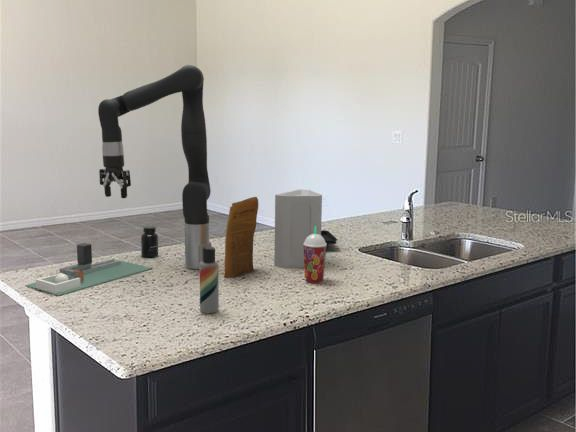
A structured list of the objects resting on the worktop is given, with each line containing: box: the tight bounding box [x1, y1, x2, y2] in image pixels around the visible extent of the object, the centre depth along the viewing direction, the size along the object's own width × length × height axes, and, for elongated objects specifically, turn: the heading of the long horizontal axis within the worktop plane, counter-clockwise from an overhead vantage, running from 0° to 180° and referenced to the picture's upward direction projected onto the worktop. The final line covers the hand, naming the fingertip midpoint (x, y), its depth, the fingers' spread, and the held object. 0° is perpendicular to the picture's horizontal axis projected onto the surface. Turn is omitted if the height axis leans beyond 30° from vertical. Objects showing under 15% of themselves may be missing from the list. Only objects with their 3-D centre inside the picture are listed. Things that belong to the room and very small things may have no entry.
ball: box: [55, 274, 69, 284], centre depth 210 cm, size 4×4×4 cm
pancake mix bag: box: [223, 196, 259, 278], centre depth 229 cm, size 7×19×28 cm, turn 144°
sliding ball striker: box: [59, 242, 93, 282], centre depth 221 cm, size 12×12×10 cm
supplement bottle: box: [140, 225, 159, 259], centre depth 253 cm, size 7×7×12 cm
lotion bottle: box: [199, 246, 220, 314], centre depth 189 cm, size 6×6×20 cm
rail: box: [49, 258, 122, 279], centre depth 228 cm, size 4×28×2 cm, turn 146°
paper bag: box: [273, 189, 323, 269], centre depth 243 cm, size 19×15×28 cm
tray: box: [321, 230, 339, 247], centre depth 276 cm, size 30×23×5 cm
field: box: [25, 260, 153, 297], centre depth 223 cm, size 18×41×1 cm, turn 146°
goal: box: [35, 272, 81, 294], centre depth 209 cm, size 10×10×3 cm
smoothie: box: [303, 226, 327, 284], centre depth 221 cm, size 8×8×20 cm
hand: (116, 197), depth 234 cm, fingers open, 8 cm apart
